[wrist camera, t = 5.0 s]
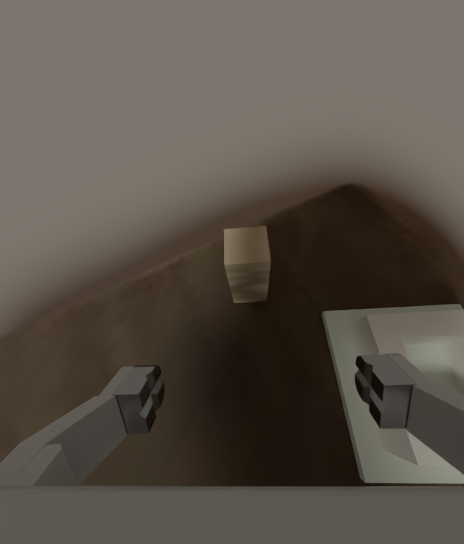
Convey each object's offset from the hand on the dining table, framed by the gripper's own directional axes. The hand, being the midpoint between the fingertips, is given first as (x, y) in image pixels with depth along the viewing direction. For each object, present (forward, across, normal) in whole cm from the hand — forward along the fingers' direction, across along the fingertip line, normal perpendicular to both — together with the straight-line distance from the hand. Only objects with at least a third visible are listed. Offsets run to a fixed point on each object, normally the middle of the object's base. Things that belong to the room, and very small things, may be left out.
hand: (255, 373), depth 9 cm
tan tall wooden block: (+18, 0, +3) cm, 19 cm away
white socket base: (+10, -15, +11) cm, 21 cm away
